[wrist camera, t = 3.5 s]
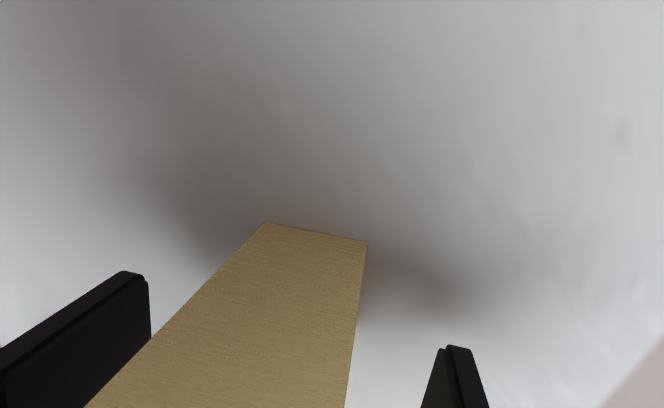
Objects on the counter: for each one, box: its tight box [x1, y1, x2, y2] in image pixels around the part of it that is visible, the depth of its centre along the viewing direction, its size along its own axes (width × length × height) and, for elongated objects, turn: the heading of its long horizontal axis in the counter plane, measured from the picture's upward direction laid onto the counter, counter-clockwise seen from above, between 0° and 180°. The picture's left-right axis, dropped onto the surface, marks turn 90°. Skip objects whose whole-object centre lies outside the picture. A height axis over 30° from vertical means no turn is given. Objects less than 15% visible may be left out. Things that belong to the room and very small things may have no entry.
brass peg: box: [84, 222, 368, 408], centre depth 8 cm, size 4×4×10 cm
